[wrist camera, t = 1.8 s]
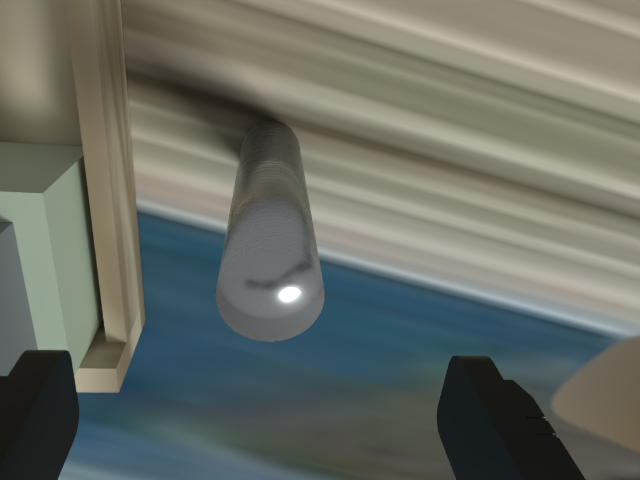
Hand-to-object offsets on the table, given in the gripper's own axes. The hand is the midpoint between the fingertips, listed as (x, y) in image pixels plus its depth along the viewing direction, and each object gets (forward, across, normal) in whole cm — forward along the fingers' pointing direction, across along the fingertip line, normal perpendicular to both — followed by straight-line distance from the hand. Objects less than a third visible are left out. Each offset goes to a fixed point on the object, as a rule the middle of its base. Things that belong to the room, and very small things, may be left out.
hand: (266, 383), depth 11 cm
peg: (+18, 0, 0) cm, 18 cm away
